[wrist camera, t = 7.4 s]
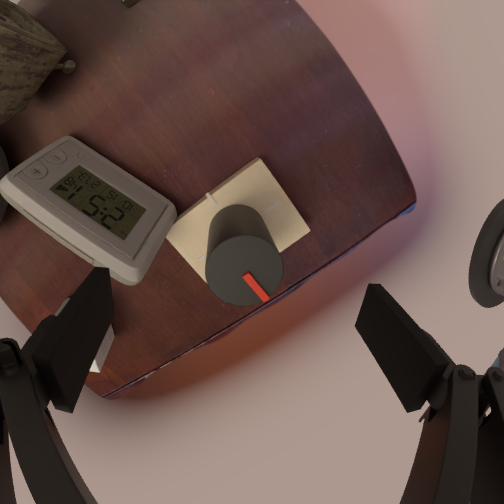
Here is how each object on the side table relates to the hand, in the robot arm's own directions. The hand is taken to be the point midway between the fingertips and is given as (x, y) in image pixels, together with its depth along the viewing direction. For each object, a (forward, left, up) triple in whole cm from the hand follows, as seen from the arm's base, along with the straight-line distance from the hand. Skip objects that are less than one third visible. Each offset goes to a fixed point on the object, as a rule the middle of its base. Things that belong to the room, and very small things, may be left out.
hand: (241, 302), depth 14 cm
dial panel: (-1, +2, -18) cm, 18 cm away
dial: (-1, +2, -16) cm, 16 cm away
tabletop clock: (+25, -16, -18) cm, 35 cm away
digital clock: (+13, -1, -18) cm, 23 cm away
